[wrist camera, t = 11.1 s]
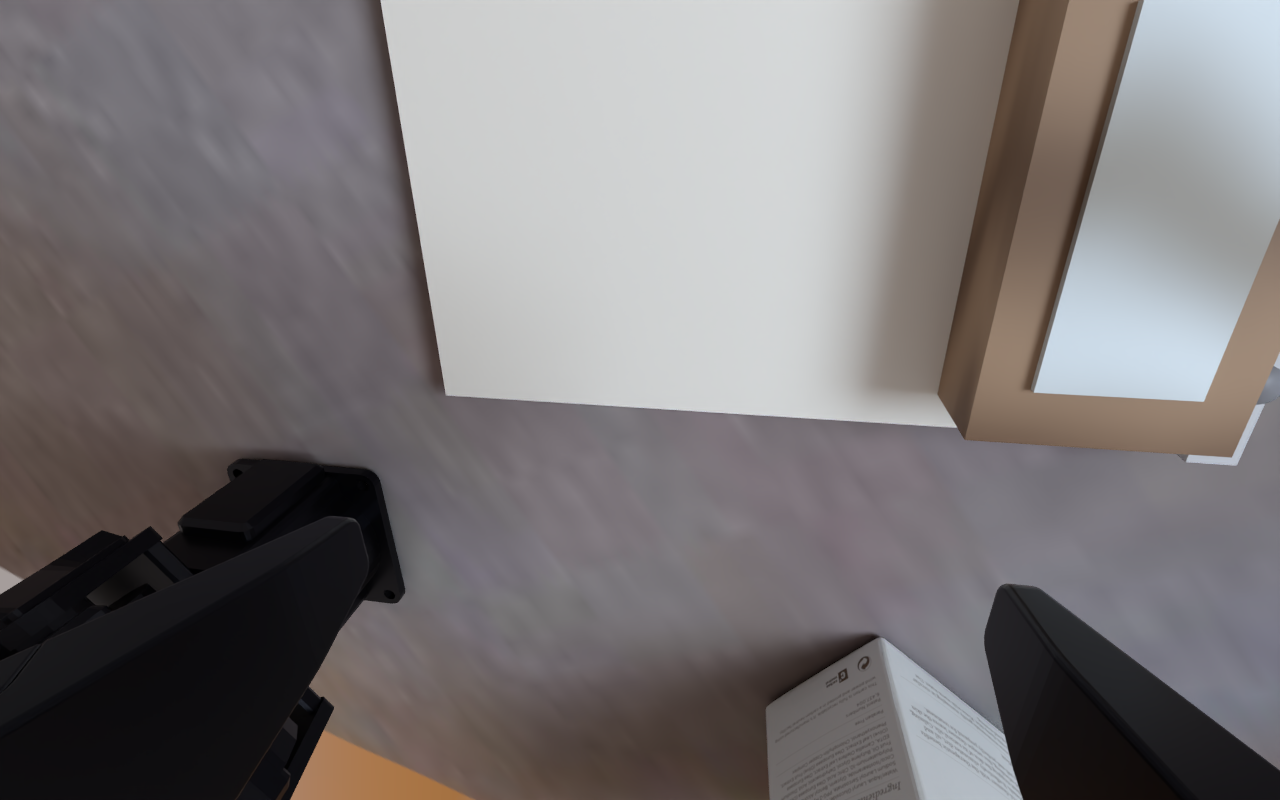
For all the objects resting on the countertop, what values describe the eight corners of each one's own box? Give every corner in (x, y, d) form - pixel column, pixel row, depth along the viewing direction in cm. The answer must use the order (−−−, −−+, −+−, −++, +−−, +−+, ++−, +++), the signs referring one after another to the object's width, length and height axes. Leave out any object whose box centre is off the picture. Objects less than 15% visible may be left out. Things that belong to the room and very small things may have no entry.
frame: (1164, 407, 17) (1237, 461, 15) (937, 394, 18) (967, 443, 16) (1350, -76, 13) (1507, -125, 10) (1031, -58, 14) (1096, -98, 11)
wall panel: (1221, 432, 18) (1284, 477, 16) (455, 386, 22) (422, 417, 20) (1467, -131, 13) (1617, -181, 10) (386, -58, 17) (328, -83, 14)
